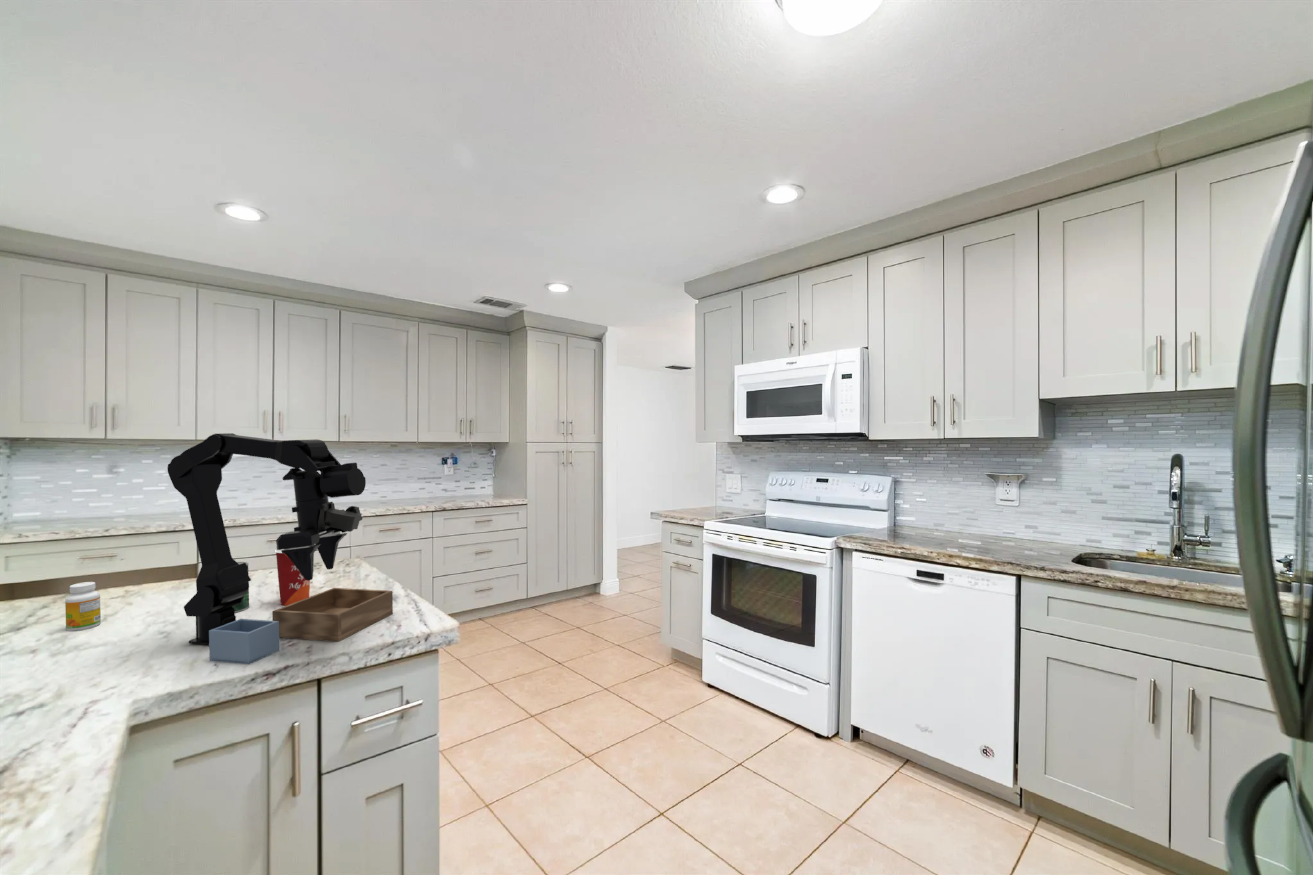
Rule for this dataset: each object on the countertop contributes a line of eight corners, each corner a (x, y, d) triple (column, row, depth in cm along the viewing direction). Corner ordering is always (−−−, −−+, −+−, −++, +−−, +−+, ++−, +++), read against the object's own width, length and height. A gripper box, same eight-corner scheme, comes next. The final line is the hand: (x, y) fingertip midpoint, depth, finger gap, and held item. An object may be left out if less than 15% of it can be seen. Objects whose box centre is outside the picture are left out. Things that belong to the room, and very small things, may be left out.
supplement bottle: (61, 629, 120) (60, 585, 120) (95, 621, 125) (94, 579, 125) (71, 633, 118) (69, 589, 117) (104, 625, 122) (103, 582, 122)
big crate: (272, 636, 115) (272, 611, 114) (334, 610, 131) (333, 587, 131) (338, 641, 112) (338, 615, 112) (392, 613, 128) (392, 590, 128)
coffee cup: (299, 607, 134) (298, 547, 133) (267, 607, 134) (266, 547, 134) (321, 596, 142) (320, 540, 142) (290, 596, 142) (289, 540, 142)
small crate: (209, 661, 103) (208, 630, 103) (241, 647, 109) (240, 618, 109) (249, 665, 101) (248, 633, 101) (279, 650, 108) (278, 621, 107)
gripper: (333, 499, 103) (342, 580, 104) (370, 491, 122) (377, 559, 122) (270, 507, 102) (279, 588, 102) (317, 496, 120) (324, 566, 120)
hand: (320, 574), depth 112 cm, fingers open, 9 cm apart
